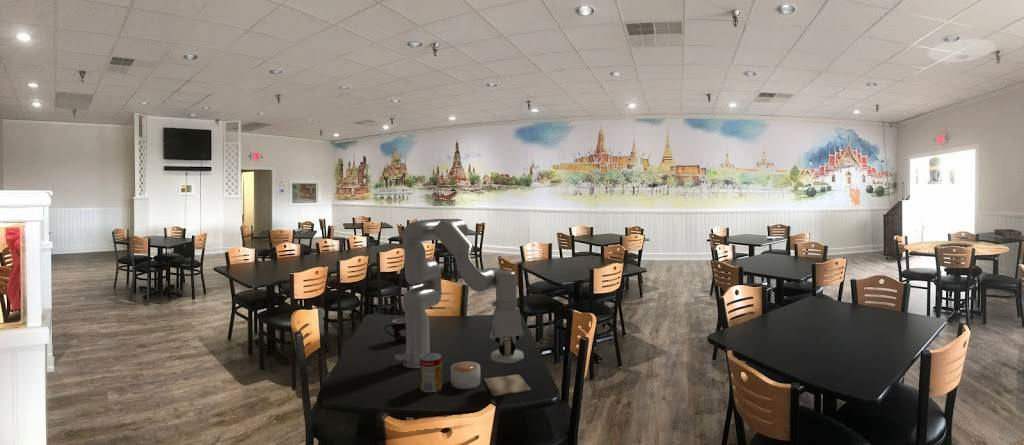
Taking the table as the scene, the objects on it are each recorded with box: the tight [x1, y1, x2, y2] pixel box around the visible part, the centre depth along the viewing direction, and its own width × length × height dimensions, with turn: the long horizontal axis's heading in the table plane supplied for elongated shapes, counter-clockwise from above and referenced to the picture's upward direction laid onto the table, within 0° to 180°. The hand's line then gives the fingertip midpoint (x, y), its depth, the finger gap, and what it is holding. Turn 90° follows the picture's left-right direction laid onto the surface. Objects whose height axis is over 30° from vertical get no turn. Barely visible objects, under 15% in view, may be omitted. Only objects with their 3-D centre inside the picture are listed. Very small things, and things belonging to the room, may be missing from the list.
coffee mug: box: [383, 317, 406, 345], centre depth 224 cm, size 12×9×10 cm
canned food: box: [419, 352, 443, 394], centre depth 173 cm, size 8×8×12 cm
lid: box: [490, 337, 524, 364], centre depth 174 cm, size 12×12×6 cm
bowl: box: [450, 361, 481, 390], centre depth 178 cm, size 11×11×6 cm
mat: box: [483, 373, 532, 397], centre depth 176 cm, size 14×14×1 cm
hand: (507, 353), depth 175 cm, fingers closed on lid, 3 cm apart
